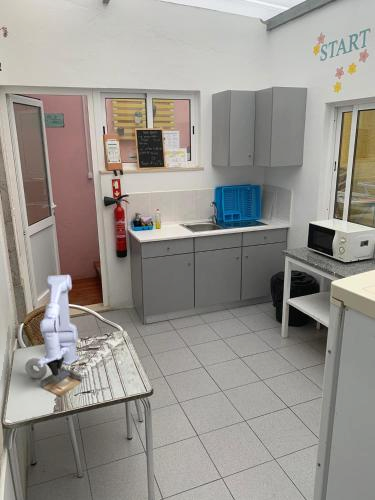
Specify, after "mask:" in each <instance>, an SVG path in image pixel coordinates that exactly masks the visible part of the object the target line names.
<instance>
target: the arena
mask: <svg viewBox="0 0 375 500" xmlns="http://www.w3.org/2000/svg"><path fill="white" fill-rule="evenodd" d="M63 371H66V372H68V373H70V376H69V377H67V378H65V379H64V380H62V381H61V382H58V381H55V380H53V375H52V373H51V374H50V375H48V376H46V377H45V378H43V379H41V380H40V384H41V389H43V390H45V391H47V392H49V393H51V394H54V395H56V396H58V397H62V396H64V395H65V394H66V393H69V392H70V391H71V390H73V389H74V388H76V387H77V386H79V385H81V383H83V377H82V374H80V373H78V372H75V371H74V370H71V369H68V368H66V367H63V366H62V367H61V369H60V373H61V372H63Z"/></svg>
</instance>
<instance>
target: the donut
mask: <svg viewBox="0 0 375 500" xmlns="http://www.w3.org/2000/svg"><path fill="white" fill-rule="evenodd" d="M40 360H41V359H40V358H36V357H33V358H30V359H28V360H27V361H26V362H25V366H24V370H25V371H26V374H27V375H28V376H29V377H30V378H33V379H42V378H43V377H45V376H46V374H47V372H48V367H47V364H45V365H43V367H42V368H41V367H38V362H39V361H40ZM34 367H36V368H38V370H36V369H35V368H34Z"/></svg>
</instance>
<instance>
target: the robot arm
mask: <svg viewBox="0 0 375 500" xmlns="http://www.w3.org/2000/svg"><path fill="white" fill-rule="evenodd" d="M46 286H47V289H48V290H49V292H50V293H49V303H47V304H46V306H45V310H44V315H43V319H42V320H41V321H40V325H39V327H40V328H39V329H40V333H41V334H42V338H43V339H44V340H43V341H44V348H45V356H44V357H42V358H41V359H40V361H39V362H38V367H41V368H42V367H43V365H45V364H46V366H48V367H47V368H49V370H50V372H51V374H53V375H54V376H57V368H59V369H61V368H62V366H63V365H62V364H65V365H67V366H69V365H71V364H72V363H74V362H76V361H77V360H80V359H81V357H82V356H80V355H77V348H76V347H77V345H76V343H77V342H78V338H79V333H78V328H77V325H75V324H73V323H71V316H70V315H71V314H70V305H69V291H71V290H72V287H73V284H72V277H71V275H70V274H61V275H48V277H47V278H46ZM38 367H37V368H38Z"/></svg>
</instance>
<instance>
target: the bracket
mask: <svg viewBox="0 0 375 500" xmlns="http://www.w3.org/2000/svg"><path fill="white" fill-rule="evenodd" d="M51 374H52V373H51ZM52 375H53V374H52ZM69 376H70V373H68V372H66V371H63V372H61V373H60V369H59V368H57V376H54V375H53V380H55V381H58V382H61V381H62V380H64V379H65V378H67V377H69Z"/></svg>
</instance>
